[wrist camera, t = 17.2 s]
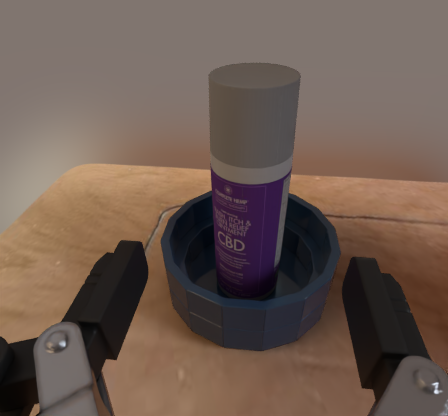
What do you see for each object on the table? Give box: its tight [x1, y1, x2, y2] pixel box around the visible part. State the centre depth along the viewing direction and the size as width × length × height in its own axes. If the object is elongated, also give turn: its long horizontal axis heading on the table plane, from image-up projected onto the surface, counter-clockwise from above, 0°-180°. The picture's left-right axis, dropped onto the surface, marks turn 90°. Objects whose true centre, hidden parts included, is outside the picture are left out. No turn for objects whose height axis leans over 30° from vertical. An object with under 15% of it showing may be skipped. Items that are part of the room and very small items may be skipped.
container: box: [209, 63, 301, 301], centre depth 20 cm, size 5×5×15 cm
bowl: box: [161, 191, 341, 351], centre depth 23 cm, size 12×12×5 cm
